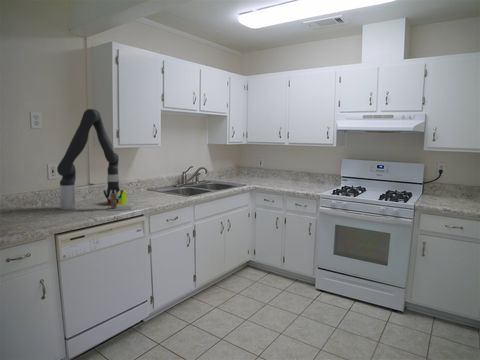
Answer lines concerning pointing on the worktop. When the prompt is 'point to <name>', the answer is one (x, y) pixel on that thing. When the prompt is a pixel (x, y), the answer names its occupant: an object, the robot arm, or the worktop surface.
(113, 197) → the walnut block
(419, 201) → the worktop surface
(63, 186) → the robot arm
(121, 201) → the puzzle toy
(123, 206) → the slate mat
